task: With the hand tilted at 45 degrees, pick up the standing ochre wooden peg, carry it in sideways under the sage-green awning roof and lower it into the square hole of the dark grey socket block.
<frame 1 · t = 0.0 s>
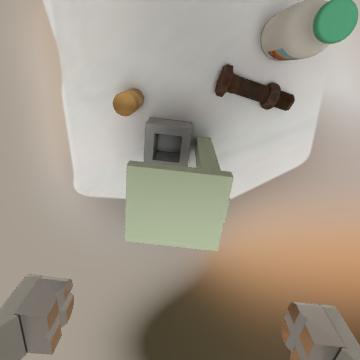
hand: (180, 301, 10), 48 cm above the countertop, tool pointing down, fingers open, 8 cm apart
awning: (169, 140, 56), on the countertop
peg: (134, 98, 53), on the countertop
socket: (169, 140, 56), on the countertop
bolt: (252, 91, 52), on the countertop
milk bottle: (280, 37, 48), on the countertop
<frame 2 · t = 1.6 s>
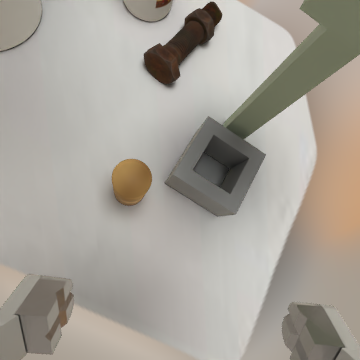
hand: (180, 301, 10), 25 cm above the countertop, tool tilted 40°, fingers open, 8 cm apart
awning: (206, 174, 37), on the countertop
peg: (129, 190, 34), on the countertop
socket: (206, 174, 37), on the countertop
bolt: (184, 50, 41), on the countertop
milk bottle: (147, 3, 41), on the countertop
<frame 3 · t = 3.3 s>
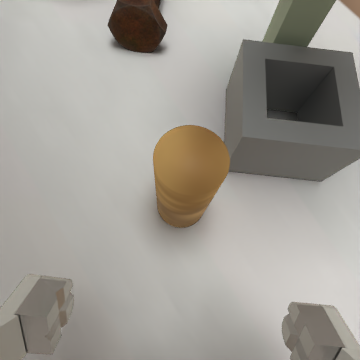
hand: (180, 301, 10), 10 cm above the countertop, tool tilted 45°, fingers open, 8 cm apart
awning: (270, 132, 25), on the countertop
peg: (180, 204, 22), on the countertop
socket: (270, 132, 25), on the countertop
bolt: (151, 7, 30), on the countertop
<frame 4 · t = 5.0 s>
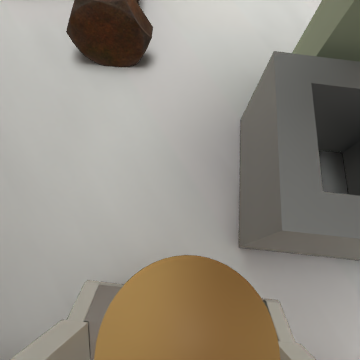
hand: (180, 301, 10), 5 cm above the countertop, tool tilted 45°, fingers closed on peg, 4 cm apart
awning: (307, 185, 17), on the countertop
peg: (174, 306, 14), on the countertop, touching gripper
socket: (307, 185, 17), on the countertop
bolt: (127, 4, 23), on the countertop
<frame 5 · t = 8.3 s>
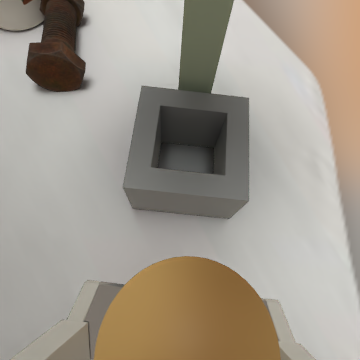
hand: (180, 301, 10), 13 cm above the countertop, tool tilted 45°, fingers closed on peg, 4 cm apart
awning: (185, 169, 25), on the countertop
peg: (174, 306, 14), point 8 cm above the countertop, touching gripper
socket: (185, 169, 25), on the countertop
bolt: (69, 43, 31), on the countertop
milk bottle: (21, 12, 32), on the countertop
when the fingers open (8 cm above the countertop, at t = 12.0 s): peg drops 3 cm, resting in socket.
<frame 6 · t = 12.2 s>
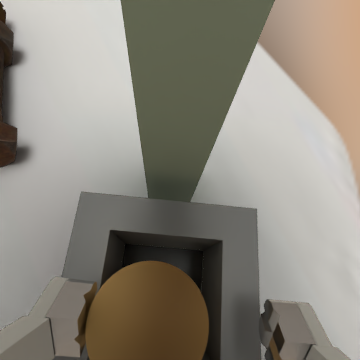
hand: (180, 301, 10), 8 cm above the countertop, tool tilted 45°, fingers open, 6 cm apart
awning: (160, 289, 17), on the countertop
peg: (151, 299, 17), resting in socket, touching gripper
socket: (160, 289, 17), on the countertop
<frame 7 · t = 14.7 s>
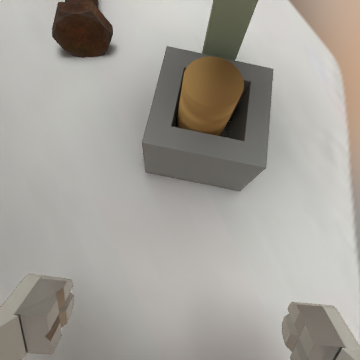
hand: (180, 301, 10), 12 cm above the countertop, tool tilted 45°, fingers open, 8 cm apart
awning: (200, 139, 25), on the countertop
peg: (193, 143, 25), resting in socket
socket: (200, 139, 25), on the countertop
bolt: (88, 8, 30), on the countertop
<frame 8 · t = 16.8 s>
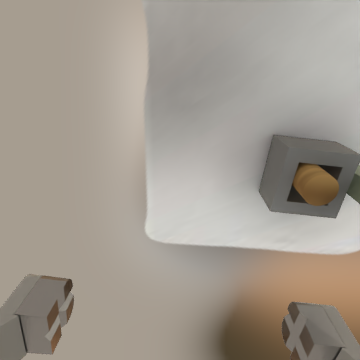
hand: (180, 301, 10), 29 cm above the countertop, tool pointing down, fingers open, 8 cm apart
awning: (295, 167, 38), on the countertop
peg: (292, 163, 38), resting in socket
socket: (295, 167, 38), on the countertop
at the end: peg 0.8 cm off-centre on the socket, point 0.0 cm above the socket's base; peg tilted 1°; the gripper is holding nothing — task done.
